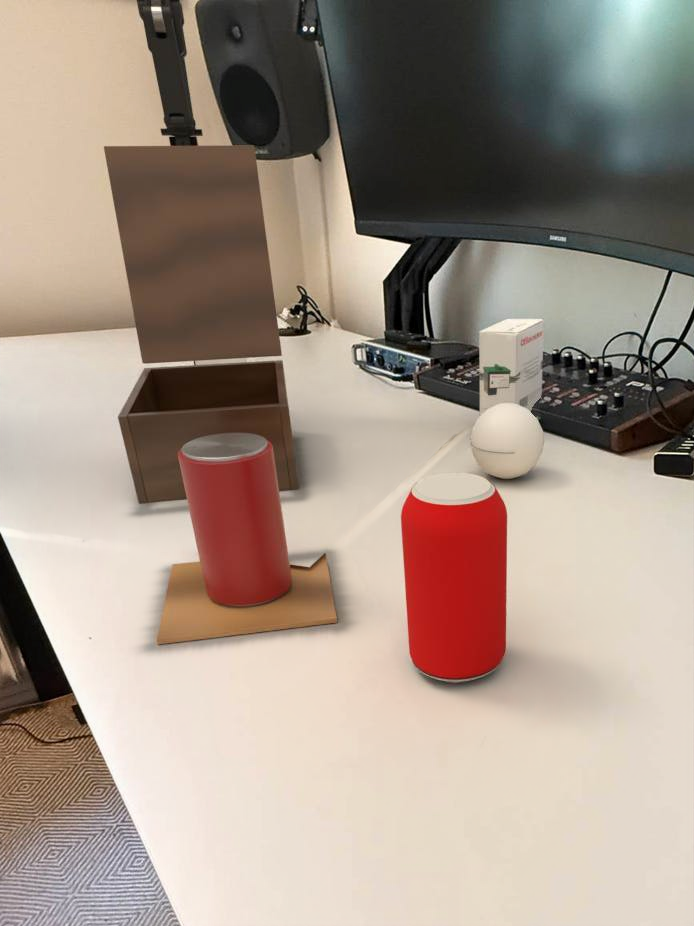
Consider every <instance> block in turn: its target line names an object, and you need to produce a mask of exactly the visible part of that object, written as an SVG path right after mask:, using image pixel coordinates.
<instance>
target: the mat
mask: <svg viewBox="0 0 694 926" xmlns="http://www.w3.org/2000/svg"><path fill="white" fill-rule="evenodd" d="M290 570H291V577H292V584H291V586H290V588H289V589H288V590H287V591H286V592H285V593H284V594H283V595H282V596H280V597H279V598H277V599H275V600H273V601H270V602H267V603H264V604H261V605H256V606H249V607H232V606H226V605H223V604H220V603H218V602H216V601H214V600H212V599H211V598H210V597H209V596H208V595H207V592H206V588H205V583H204V578H203V573H202V568H201V564H200V561H192V562H181V563H173V564H171V569H170V574H169V579H168V583H167V587H166V594H165V598H164V603H163V607H162V612H161V616H160V622H159V627H158V632H157V635H156V643H157V645H165V644H173V643H181V642H189V641H197V640H205V639H213V638H214V639H215V638H221V637H222V638H223V637H229V636H238V635H239V636H240V635H245V634H246V635H247V634H255V633H262V632H272V631H279V630H288V629H295V628H302V627H312V626H313V627H314V626H321V625H328V624H337V623H338V617H337V611H336V605H335V599H334V593H333V587H332V582H331V577H330V571H329V565H328V560H327V553H326V552H324V553H323V554H322V555H321V556H320V557H319V558H317V560H316V561H314V563H312V564H311V565H310V566H303V565H296V564H290Z"/></svg>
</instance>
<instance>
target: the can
mask: <svg viewBox="0 0 694 926" xmlns="http://www.w3.org/2000/svg"><path fill="white" fill-rule="evenodd" d="M178 458H179V463H180V468H181V473H182V477H183V482H184V487H185V492H186V497H187V500H186V501H187V506H188V510H189V515H190V520H191V524H192V531H193V534H194V540H195V544H196V549H197V554H198V559H199V562H200V564H201V568H202V573H203V578H204V583H205V588H206V592H207V595H208V596H209V597H210V598H211V599H212V600H214V601H216V602H218V603H220V604H223V605H226V606H232V607H249V606H256V605H261V604H264V603H267V602H270V601H273V600H275V599H277V598H279V597H280V596H282V595H283V594H284V593H285V592H286V591H287V590H288V589H289V588H290V586H291V584H292V577H291V570H290V565H291V563H290V556H289V550H288V543H287V538H286V530H285V523H284V516H283V515H284V514H283V509H282V502H281V495H280V491H279V487H278V480H277V473H276V466H275V460H274V453H273V446H272V444H271V442H269V441H268V440H266V439H265V438H264V437H262V436H259V435H255V434H249V433H222V434H214V435H209V436H204V437H200V438H197V439H194V440H192V441H190V442H188V443H186V444H185V445H184V446H183V447H182V449H180V451H179V452H178Z"/></svg>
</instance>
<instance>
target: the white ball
mask: <svg viewBox="0 0 694 926" xmlns="http://www.w3.org/2000/svg"><path fill="white" fill-rule="evenodd" d="M470 434H471V435H470V438H469V440H470V446H469V447H466V448H463V449H460V450H457V451H456V452H455V454H457V453H461V452H463V451H466V450H468V449H471V451H472V455H473V457H474V460H475V461H476V463H477V465H478V466H479V467H480V468H481V469H482V470H483V471H484V472H486V473H487V474H488V475H490V476H493V477H496V478H499V479H503V480H510V479H511V480H512V479H515V478H518V477H522V476H524V475H526V474H527V473H528V472H530V471H531V470H532V469H533V468H534V467H536V465H537V463H538V461H539V459H540V458H541V456H542V454H543V450H544V445H545V437H544V436H545V435H544V430H543V428H542V426H541V423H540V422H539V420H538V419H537V418H536V417H535V416H534V415H533V414H532V413H531V412H530V411H529V410H528V409H526V408H524V407H522V406H520V405H518V404H514V403H501V404H498V405H495V406H493V407H491V408H489V409H487V410H486V411H485V412H484V413H483V414H482V415H481V416H480V415H479V417H478V418H477V419H476V421H475V423H474V425H473V427H472V429H471V433H470Z"/></svg>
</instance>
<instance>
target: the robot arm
mask: <svg viewBox="0 0 694 926" xmlns="http://www.w3.org/2000/svg"><path fill="white" fill-rule="evenodd" d="M136 4H137V10H138V14H139V15H138V16H139V17H140V19H141V20H142V22H143V28H144V33H145V38H146V45H147V49H148V51H149V52H150V54H151V56H152V62H153V66H154V71H155V76H156V82H157V86H158V91H159V97H160V102H161V107H162V112H163V123H164V124H165V125H164V126H165V127H166V128H160V134H161V136H162V137H165V136H166V137H167V136H168V141H169V146H199V143H198V137H203V129H201V128H197V127H196V125H197V123H196V119H195V118H194V112H193V106H192V104H193V103H192V98H191V93H190V92H191V91H190V86H189V85H190V84H189V79H188V72H187V66H186V57H187V54H188V51H187V45H186V39H185V32H184V25H185V17H184V11H183V6H182V5H183V4H182V3H181V0H136Z"/></svg>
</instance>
